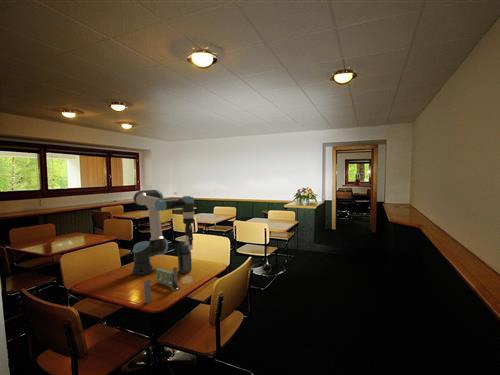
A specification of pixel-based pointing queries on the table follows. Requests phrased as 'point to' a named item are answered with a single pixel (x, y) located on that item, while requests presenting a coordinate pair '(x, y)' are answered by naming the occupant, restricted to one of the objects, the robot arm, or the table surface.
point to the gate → (162, 279)
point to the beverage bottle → (184, 258)
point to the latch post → (147, 291)
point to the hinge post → (175, 280)
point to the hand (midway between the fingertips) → (189, 247)
